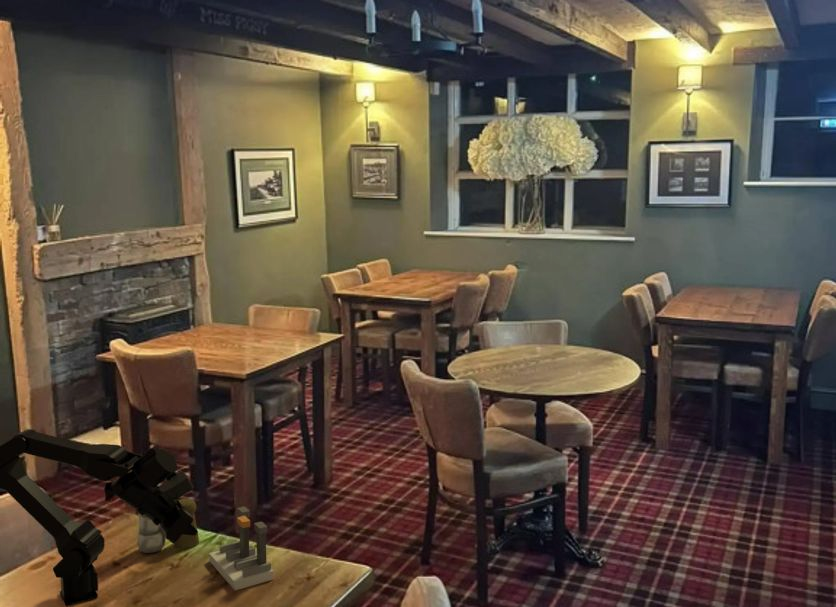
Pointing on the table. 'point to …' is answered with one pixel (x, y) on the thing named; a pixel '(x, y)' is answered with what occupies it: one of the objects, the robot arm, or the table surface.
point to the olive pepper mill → (191, 540)
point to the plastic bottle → (149, 535)
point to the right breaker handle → (261, 542)
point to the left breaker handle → (243, 512)
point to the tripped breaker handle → (244, 536)
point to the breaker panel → (240, 566)
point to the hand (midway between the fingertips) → (196, 533)
